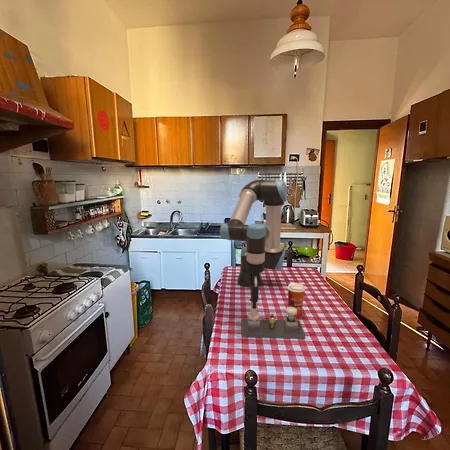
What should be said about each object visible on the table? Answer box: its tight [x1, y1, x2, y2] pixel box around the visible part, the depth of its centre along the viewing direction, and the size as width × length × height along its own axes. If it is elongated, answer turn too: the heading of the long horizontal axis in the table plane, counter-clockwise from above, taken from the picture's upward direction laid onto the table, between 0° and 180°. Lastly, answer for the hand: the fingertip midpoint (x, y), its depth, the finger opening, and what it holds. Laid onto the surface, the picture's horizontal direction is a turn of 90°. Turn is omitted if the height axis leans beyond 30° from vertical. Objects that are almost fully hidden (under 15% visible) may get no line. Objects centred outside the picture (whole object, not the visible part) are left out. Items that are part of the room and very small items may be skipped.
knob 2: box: [285, 306, 297, 321], centre depth 114 cm, size 5×5×5 cm
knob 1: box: [247, 311, 260, 321], centre depth 115 cm, size 5×5×5 cm
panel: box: [241, 316, 306, 340], centre depth 115 cm, size 11×26×5 cm, turn 88°
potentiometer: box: [268, 313, 276, 328], centre depth 115 cm, size 3×3×6 cm
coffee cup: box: [287, 282, 306, 319], centre depth 128 cm, size 8×8×15 cm
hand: (253, 313), depth 115 cm, fingers closed
